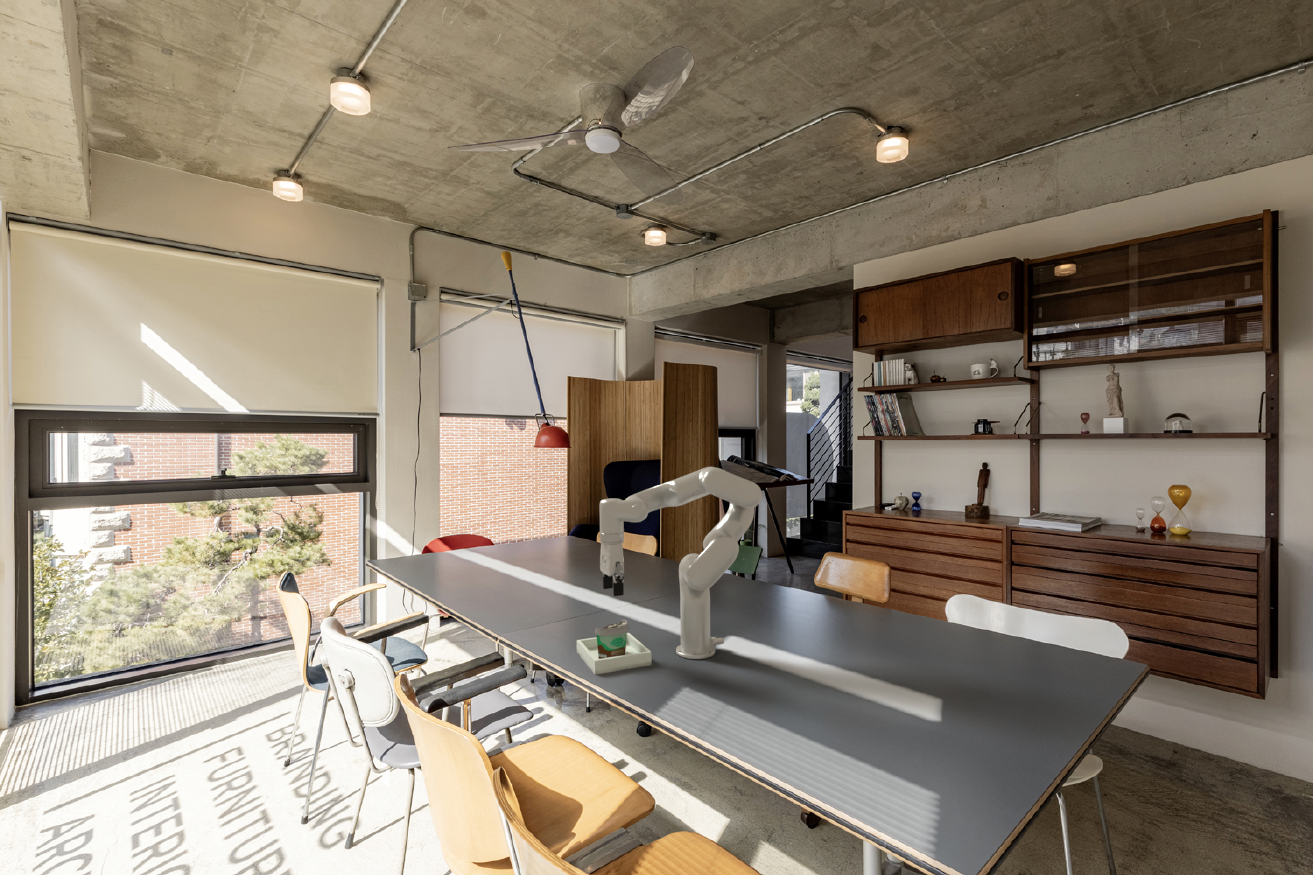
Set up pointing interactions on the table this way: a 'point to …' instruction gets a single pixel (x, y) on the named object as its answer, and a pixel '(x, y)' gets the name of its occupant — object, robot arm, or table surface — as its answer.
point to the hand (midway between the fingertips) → (613, 591)
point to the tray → (633, 656)
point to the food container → (612, 640)
